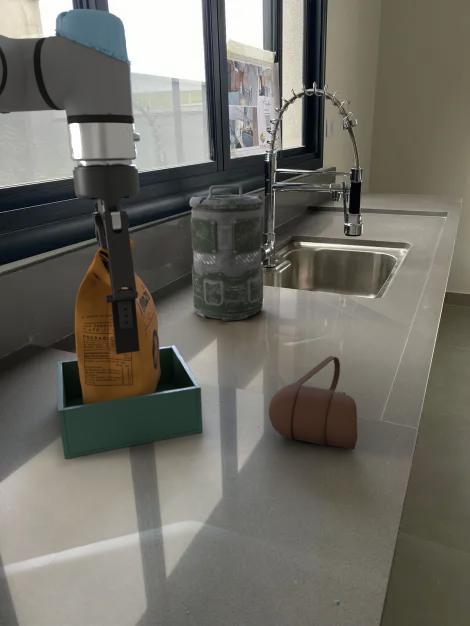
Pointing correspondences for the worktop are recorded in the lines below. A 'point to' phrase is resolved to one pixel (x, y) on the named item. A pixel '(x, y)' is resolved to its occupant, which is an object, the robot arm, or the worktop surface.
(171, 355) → the green open box
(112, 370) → the coffee package
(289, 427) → the brown strapped handbag
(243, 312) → the canister
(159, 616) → the worktop surface
